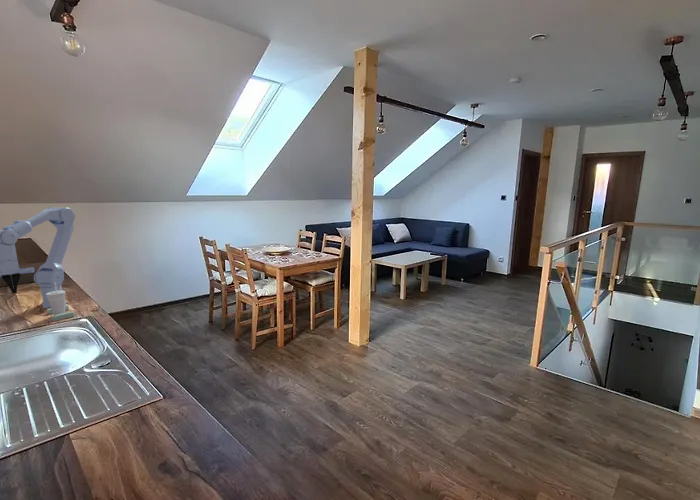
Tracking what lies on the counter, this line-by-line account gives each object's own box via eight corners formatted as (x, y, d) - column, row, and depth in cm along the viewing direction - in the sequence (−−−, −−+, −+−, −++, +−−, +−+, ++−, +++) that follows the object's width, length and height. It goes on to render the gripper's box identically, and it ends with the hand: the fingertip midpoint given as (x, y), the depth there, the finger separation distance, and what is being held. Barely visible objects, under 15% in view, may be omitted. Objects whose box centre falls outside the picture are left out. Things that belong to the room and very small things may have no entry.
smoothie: (59, 318, 150) (53, 284, 147) (45, 317, 150) (39, 284, 148) (73, 312, 156) (67, 280, 153) (59, 311, 157) (54, 279, 154)
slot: (47, 313, 155) (46, 309, 155) (68, 308, 160) (67, 304, 160) (52, 321, 146) (51, 317, 146) (73, 316, 151) (73, 312, 151)
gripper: (-18, 264, 139) (-11, 299, 142) (32, 258, 149) (38, 290, 152) (-18, 261, 144) (-11, 295, 147) (30, 255, 154) (36, 287, 157)
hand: (14, 292), depth 149 cm, fingers closed
